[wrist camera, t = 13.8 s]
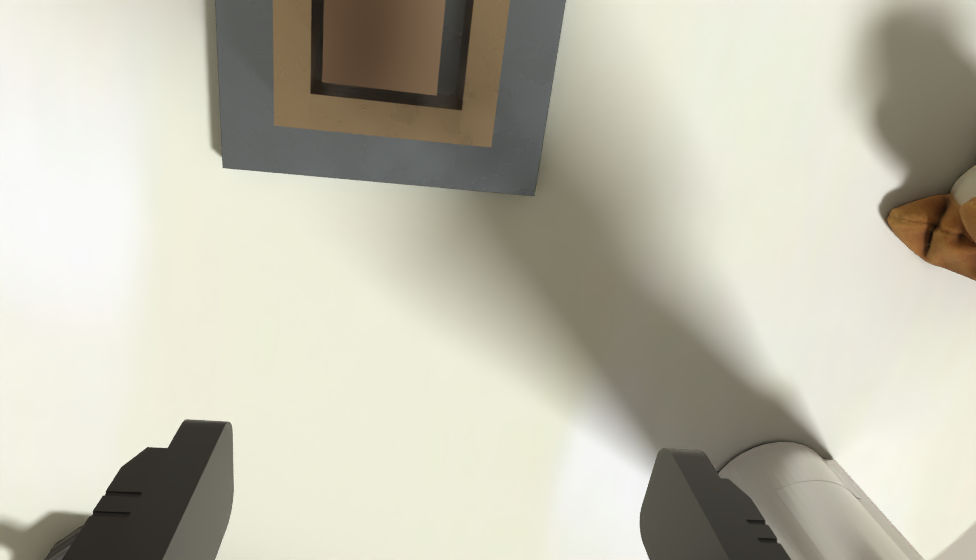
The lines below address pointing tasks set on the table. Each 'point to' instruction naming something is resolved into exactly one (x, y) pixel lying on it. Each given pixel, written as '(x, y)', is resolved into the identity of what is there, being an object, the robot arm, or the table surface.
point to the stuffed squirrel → (942, 226)
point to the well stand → (390, 99)
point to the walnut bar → (383, 44)
